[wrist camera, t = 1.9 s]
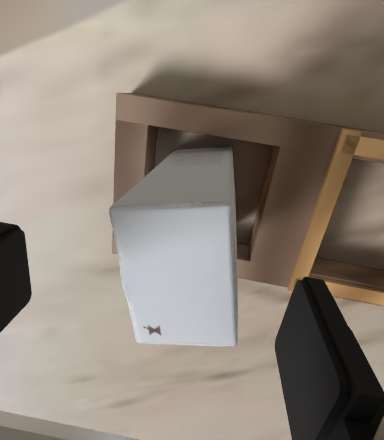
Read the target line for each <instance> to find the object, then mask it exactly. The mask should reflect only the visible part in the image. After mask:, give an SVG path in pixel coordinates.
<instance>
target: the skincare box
mask: <svg viewBox="0 0 384 440" xmlns="http://www.w3.org/2000/svg"><path fill="white" fill-rule="evenodd" d="M109 214H110V218H111V223H112V228H113V233H114V238H115V242H116V248H117V252H118V257H119V263H120V274H121V280H122V286H123V290H124V293H125V295H126V298H127V301H128V306H129V311H130V315H131V319H132V324H133V329H134V333H135V338H136V341H137V342H138V343H143V344H175V345H199V346H236V345H237V325H238V303H237V237H236V204H235V184H234V168H233V148H232V147H215V148H195V149H179V150H174V151H173V152H172V153H171V154H170V155H169V156H167V157H166V158H165V159H164V160H163V161H162V162H161V163H160V164H158V165H157V166H156V167H155V168H154V169H153V170H152V171H151V172H150V173H148V174H147V175H146V176H145V177H144V178H143V179H142V180H141V181H140V182H138V183H137V184H136V185H135V186H134V187H133V188H132V189H130V190H129V191H128V192H127V193H126V194H125V195H124V196H122V197H121V198H120V199H119V200H117V201H116V202H115V203H114V204H113V205H112V206H111V207H110V211H109Z"/></svg>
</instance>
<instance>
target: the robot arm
mask: <svg viewBox="0 0 384 440" xmlns="http://www.w3.org/2000/svg"><path fill="white" fill-rule="evenodd" d="M30 298H31V284H30V275H29V267H28V258H27V250H26V242H25V234H24V232H23V231H22V230H21V229H20V227H19V226H18V225H14V224H8V223H3V222H0V332H1V331H2V330H3V329H4V328H5V327H6V326H7V325H8V324H9V323H10V322H11V321H12V319H13V318H14V317H15V316H16V315H17V314H18V313H19V312H20V311H21V310H22V309H23V308H24V307H25V306H26V305H27V303H28V302H29V300H30ZM275 352H276V357H277V362H278V368H279V373H280V378H281V384H282V389H283V394H284V399H285V405H286V410H287V415H288V420H289V426H290V431H291V436H292V440H384V391H383V389H382V387H381V385H380V383H379V382H378V380H377V378H376V376H375V374H374V372H373V370H372V368H371V366H370V364H369V363H368V361H367V359H366V357H365V355H364V353H363V351H362V349H361V347H360V345H359V344H358V342H357V340H356V338H355V336H354V334H353V332H352V331H351V329H350V328H349V327H348V325H347V323H346V321H345V319H344V317H343V315H342V314H341V312H340V310H339V308H338V306H337V304H336V302H335V300H334V298H333V296H332V294H331V292H330V291H329V289H328V287H327V285H326V283H325V281H324V280H322V279H317V278H311V277H306V276H305V277H304V278H303V279H302V280H297V282H296V284H295V287H294V289H293V292H292V295H291V298H290V301H289V303H288V306H287V309H286V312H285V315H284V317H283V320H282V323H281V326H280V329H279V331H278V334H277V337H276V340H275ZM0 440H139V439H134V438H129V437H125V436H120V435H115V434H110V433H105V432H100V431H96V430H91V429H86V428H81V427H76V426H71V425H67V424H62V423H57V422H52V421H47V420H42V419H37V418H33V417H28V416H23V415H18V414H13V413H8V412H3V411H0Z"/></svg>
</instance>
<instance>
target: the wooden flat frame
mask: <svg viewBox="0 0 384 440" xmlns="http://www.w3.org/2000/svg"><path fill="white" fill-rule="evenodd" d="M157 127H164V128H170V129H176V130H182V131H188V132H194V133H200V134H206V135H212V136H218V137H224V138H231V139H237V140H243V141H249V142H255V143H261V144H267V145H273V146H274V147H273V151H272V155H271V159H270V163H269V167H268V171H267V174H266V178H265V182H264V186H263V190H262V194H261V198H260V202H259V206H258V210H257V214H256V218H255V222H254V226H253V230H252V233H251V237H250V241H249V245H247V244H242V243H237V278H242V279H247V280H252V281H258V282H263V283H268V284H273V285H278V286H283V287H287V288H288V290H291V291H293V289H294V287H295V284H296V282H297V280H302V279H303V278H304V277H305V276H306V277H311V278H317V279H322V280H324V281H325V283H326V285H327V287H328V289H329V291H330V292H331V294H332V296H334V297H339V298H344V299H349V300H354V301H359V302H364V303H369V304H375V305H380V306H384V270H380V269H375V268H370V267H364V266H359V265H354V264H348V263H343V262H338V261H332V260H327V259H322V258H316V255H317V252H318V249H319V247H320V244H321V241H322V239H323V236H324V233H325V231H326V228H327V225H328V223H329V220H330V217H331V215H332V212H333V209H334V207H335V204H336V201H337V199H338V196H339V193H340V190H341V188H342V185H343V182H344V180H345V177H346V174H347V172H348V169H349V166H350V164H351V161H352V159H358V160H365V161H371V162H377V163H383V164H384V133H381V132H374V131H368V130H362V129H355V128H349V127H343V126H336V125H330V124H324V123H317V122H311V121H304V120H298V119H292V118H285V117H279V116H273V115H266V114H260V113H254V112H247V111H241V110H235V109H228V108H222V107H215V106H209V105H203V104H196V103H190V102H184V101H177V100H171V99H165V98H158V97H152V96H145V95H139V94H133V93H117V95H116V131H115V167H114V203H115V202H116V201H117V200H119V199H120V198H121V197H122V196H124V195H125V194H126V193H127V192H128V191H129V190H130V189H132V188H133V187H134V186H135V185H136V184H137V183H138V182H140V181H141V180H142V179H143V178H144V177H145V176H146V175H147V174H148V173H150V172H151V171H152V170H153V169H154V160H155V149H156V137H157ZM114 203H113V204H114ZM112 253H115V254H118V252H117V248H116V242H115V238H114V233H113V239H112Z"/></svg>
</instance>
